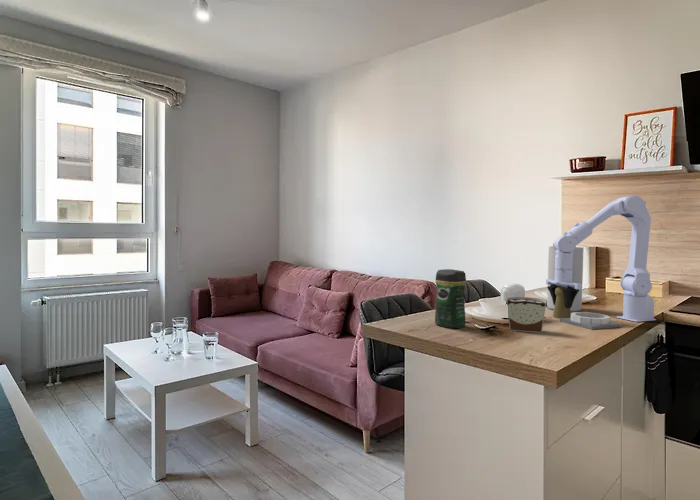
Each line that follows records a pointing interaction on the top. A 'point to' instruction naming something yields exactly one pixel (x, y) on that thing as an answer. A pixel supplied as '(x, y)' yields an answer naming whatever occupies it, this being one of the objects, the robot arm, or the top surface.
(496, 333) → the top surface
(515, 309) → the food container
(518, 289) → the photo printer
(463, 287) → the coffee jar
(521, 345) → the top surface
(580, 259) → the cylinder vase
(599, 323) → the socket holder
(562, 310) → the cork
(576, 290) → the robot arm
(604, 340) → the top surface
